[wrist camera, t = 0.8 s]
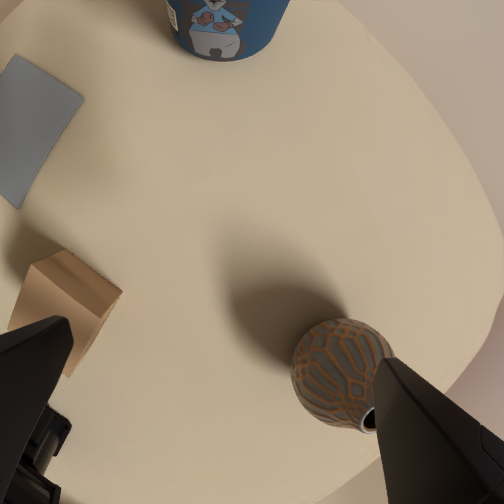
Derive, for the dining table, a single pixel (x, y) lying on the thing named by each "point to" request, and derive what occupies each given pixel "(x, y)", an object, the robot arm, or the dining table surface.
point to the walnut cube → (66, 300)
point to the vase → (339, 372)
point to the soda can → (224, 26)
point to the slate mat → (29, 124)
